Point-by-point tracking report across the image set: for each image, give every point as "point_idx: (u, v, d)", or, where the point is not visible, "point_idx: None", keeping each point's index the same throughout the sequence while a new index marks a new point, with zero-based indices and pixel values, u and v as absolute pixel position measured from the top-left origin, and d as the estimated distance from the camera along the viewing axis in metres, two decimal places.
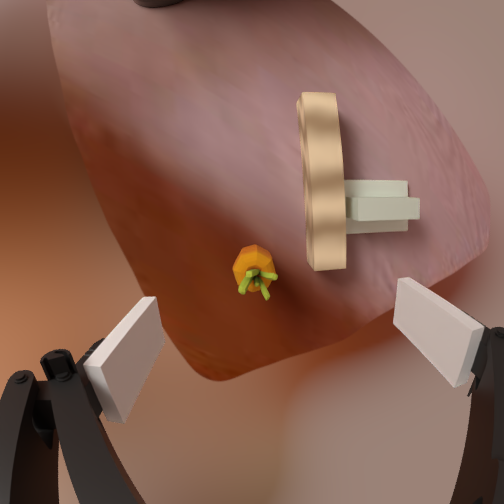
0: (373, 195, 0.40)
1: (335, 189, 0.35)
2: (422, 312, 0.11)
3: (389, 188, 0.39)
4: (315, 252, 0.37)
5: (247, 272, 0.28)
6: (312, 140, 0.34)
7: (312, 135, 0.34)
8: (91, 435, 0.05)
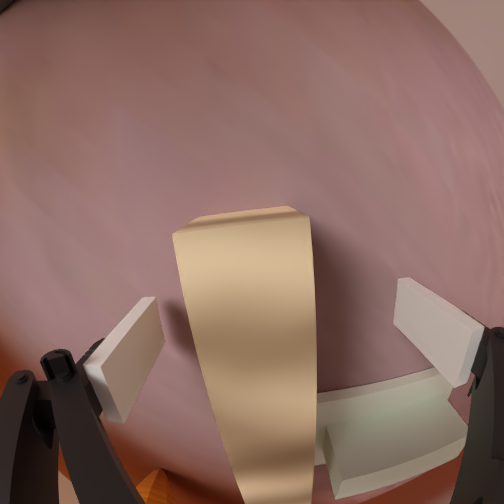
0: (386, 411, 0.16)
1: (292, 468, 0.12)
2: (422, 312, 0.11)
3: (421, 392, 0.16)
4: None
5: None
6: (223, 396, 0.11)
7: (221, 383, 0.10)
8: (91, 435, 0.05)
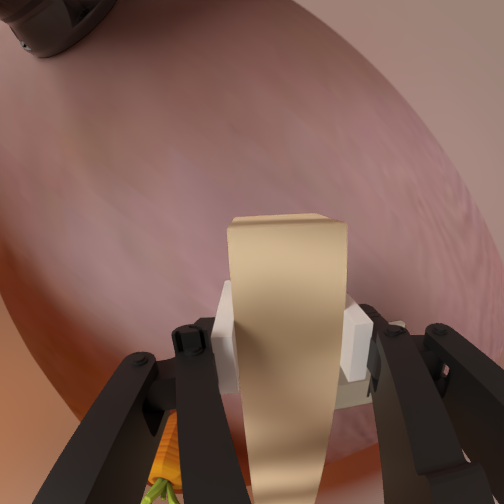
0: None
1: (305, 459, 0.13)
2: None
3: None
4: None
5: (145, 497, 0.15)
6: (254, 383, 0.12)
7: (254, 371, 0.12)
8: (213, 412, 0.06)
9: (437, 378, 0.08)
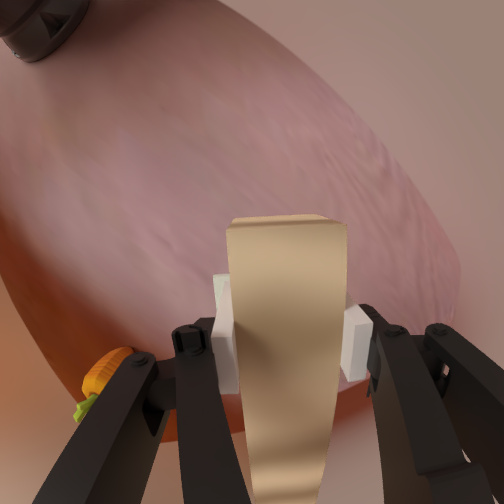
0: None
1: (306, 460, 0.13)
2: None
3: None
4: None
5: (77, 405, 0.21)
6: (254, 385, 0.12)
7: (254, 373, 0.12)
8: (213, 412, 0.06)
9: (437, 378, 0.08)
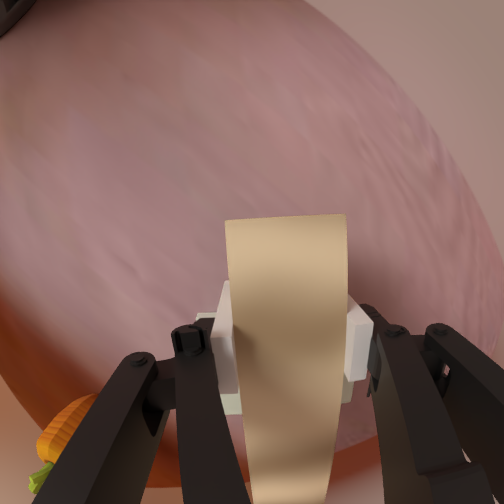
0: None
1: (310, 470, 0.12)
2: None
3: None
4: None
5: None
6: (254, 385, 0.11)
7: (254, 372, 0.11)
8: (213, 412, 0.06)
9: (438, 378, 0.08)
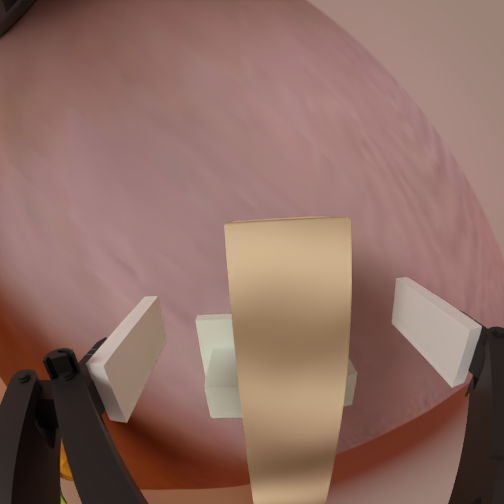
0: None
1: (310, 474, 0.12)
2: (419, 312, 0.11)
3: None
4: None
5: None
6: (255, 392, 0.11)
7: (255, 379, 0.11)
8: (94, 434, 0.05)
9: None
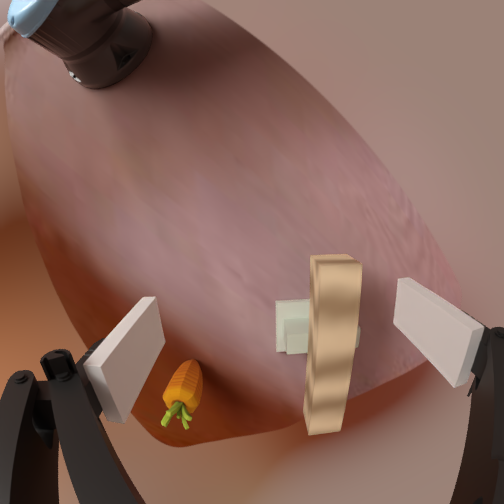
0: None
1: (341, 374, 0.30)
2: (422, 312, 0.11)
3: None
4: (311, 423, 0.32)
5: (167, 412, 0.28)
6: (324, 327, 0.29)
7: (325, 322, 0.29)
8: (91, 435, 0.05)
9: None
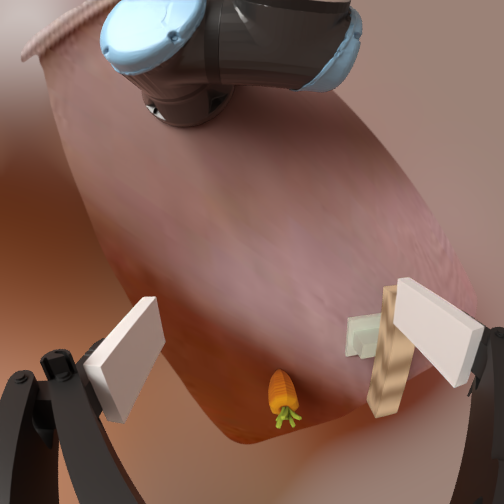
0: (376, 327, 0.48)
1: (403, 370, 0.39)
2: (422, 312, 0.11)
3: None
4: (379, 408, 0.41)
5: (282, 417, 0.37)
6: (396, 340, 0.37)
7: (397, 335, 0.37)
8: (91, 435, 0.05)
9: None
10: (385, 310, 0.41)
